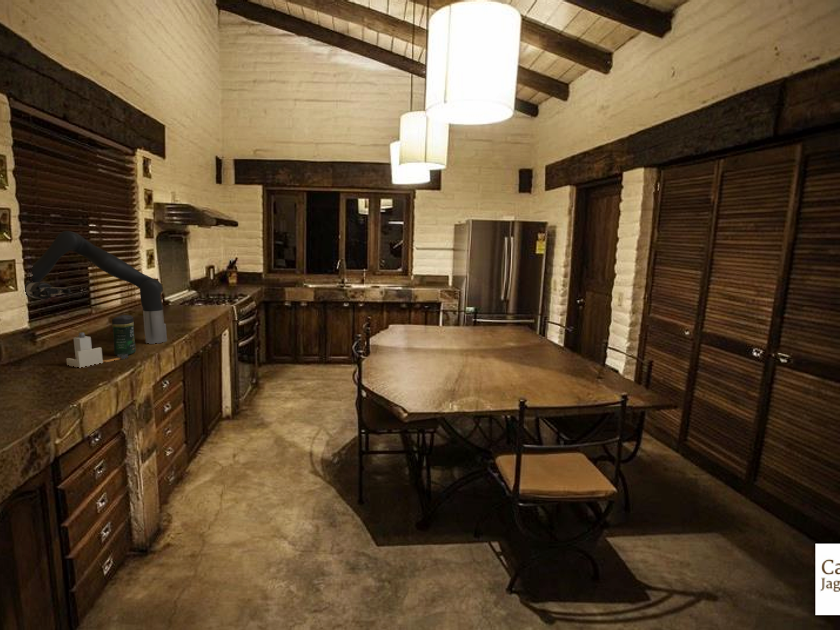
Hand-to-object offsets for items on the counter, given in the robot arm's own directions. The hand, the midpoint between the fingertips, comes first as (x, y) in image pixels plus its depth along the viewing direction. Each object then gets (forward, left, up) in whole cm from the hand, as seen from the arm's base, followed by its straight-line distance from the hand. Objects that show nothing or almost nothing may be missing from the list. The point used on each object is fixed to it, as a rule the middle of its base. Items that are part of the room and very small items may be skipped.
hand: (59, 292), depth 216 cm
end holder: (+3, +20, -30) cm, 36 cm away
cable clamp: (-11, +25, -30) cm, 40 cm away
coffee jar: (-17, +17, -30) cm, 39 cm away
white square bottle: (+3, +20, -30) cm, 36 cm away
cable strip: (-5, +23, -30) cm, 38 cm away
